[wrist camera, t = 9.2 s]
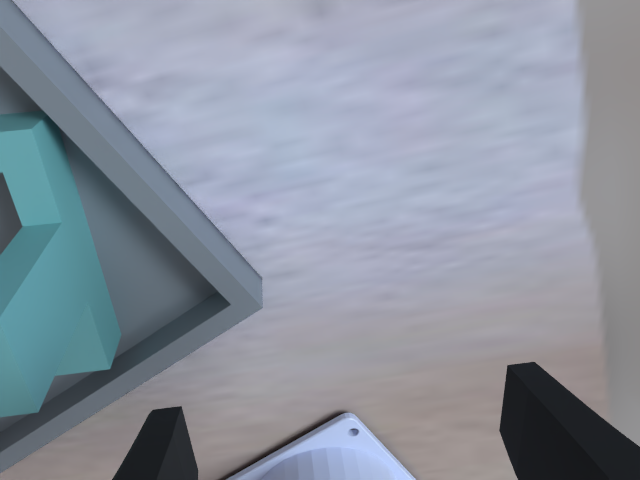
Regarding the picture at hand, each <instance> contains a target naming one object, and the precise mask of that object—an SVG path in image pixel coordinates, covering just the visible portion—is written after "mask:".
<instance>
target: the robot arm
mask: <svg viewBox="0 0 640 480" xmlns="http://www.w3.org/2000/svg"><path fill="white" fill-rule="evenodd" d="M353 428H356V429H354V430H350V429H353ZM500 433H501V436H502V439H503V442H504V445H505V447H506V450H507V453H508V456H509V458H510V461H511V463H512V466H513V469H514V471H515V474H516V476H517V478H518V480H640V447H639V446H638V445H636V444H635V443H634V442H632V441H631V440H630V439H629V438H627V437H626V436H625V435H623V434H622V433H621V432H619V431H618V430H617V429H615V428H614V427H613V426H612V425H610V424H609V423H608V422H607V421H605V420H604V419H603V418H601V417H600V416H599V415H598V414H596V413H595V412H594V411H593V410H591V409H590V408H589V407H588V406H587V405H585V404H584V403H583V402H582V401H581V400H579V399H578V398H577V397H576V396H575V395H573V394H572V393H571V392H570V391H569V390H567V389H566V388H565V387H564V386H563V385H561V384H560V383H559V382H558V381H557V380H555V379H554V378H553V377H552V376H551V375H549V374H548V373H547V372H546V371H545V370H543V369H542V368H541V367H540V366H539V365H537V364H536V363H535V362H529V363H522V364H514V365H508V366H507V374H506V382H505V390H504V398H503V406H502V414H501V423H500ZM112 480H198V468H197V464H196V461H195V457H194V453H193V449H192V445H191V441H190V437H189V434H188V430H187V426H186V422H185V418H184V414H183V410H182V407H181V406H180V407H172V408H164V409H156V410H152V412H151V413H150V414H149V415H148V417H147V419H146V421H145V423H144V425H143V427H142V428H141V430H140V432H139V434H138V436H137V438H136V440H135V441H134V443H133V445H132V447H131V449H130V450H129V452H128V454H127V456H126V457H125V459H124V461H123V463H122V464H121V466H120V468H119V469H118V471H117V473H116V474H115V476H114V478H113V479H112ZM226 480H416V479H415V478H414V477H413V476H412V475H411V474H410V473H409V472H408V471H407V470H406V468H405V467H404V466H403V465H402V464H401V463H400V462H399V461H398V460H397V459H396V458H395V457H394V456H393V455H392V454H391V453H390V452H389V450H388V449H387V448H386V447H385V446H384V445H383V444H382V443H381V442H380V441H379V440H378V439H377V438H376V437H375V436H374V435H373V434H372V432H371V431H370V430H369V429H368V428H367V427H366V426H365V425H364V424H363V423H362V422H361V421H360V420H359V419H358V418H357V417H356V416H355V415H354V414H352V413H344V414H341V415H339V416H337V417H336V418H334V419H332V420H330V421H329V422H327V423H325V424H323V425H321V426H320V427H318V428H316V429H314V430H313V431H311V432H309V433H307V434H306V435H304V436H302V437H300V438H298V439H297V440H295V441H293V442H291V443H290V444H288V445H286V446H284V447H283V448H281V449H279V450H277V451H275V452H274V453H272V454H270V455H268V456H267V457H265V458H263V459H261V460H260V461H258V462H256V463H254V464H252V465H251V466H249V467H247V468H245V469H244V470H242V471H240V472H238V473H237V474H235V475H233V476H231V477H229V478H228V479H226Z"/></svg>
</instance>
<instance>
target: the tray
mask: <svg viewBox="0 0 640 480" xmlns="http://www.w3.org/2000/svg"><path fill="white" fill-rule="evenodd" d="M42 110H43V111H44V112H45V113H46V114H47V115H48V116H49V117H50V118H51V119H52V120H53V121H54V122H55V123H56V124H57V125H58V126H59V130H60V133H61V136H62V140H63V143H64V146H65V150H66V153H67V156H68V160H69V163H70V166H71V169H72V173H73V176H74V179H75V183H76V186H77V189H78V193H79V196H80V199H81V203H82V206H83V209H84V213H85V216H86V219H87V222H88V226H89V229H90V232H91V236H92V239H93V242H94V246H95V249H96V252H97V256H98V259H99V262H100V266H101V269H102V272H103V275H104V279H105V282H106V285H107V289H108V292H109V295H110V299H111V302H112V305H113V309H114V312H115V315H116V319H117V322H118V325H119V328H120V332H121V337H120V340H119V344H118V347H117V350H116V353H115V356H114V359H113V362H112V365H111V368H110V369H108V370H100V371H91V372H83V373H75V374H66V375H58V376H54V379H53V381H52V383H51V385H50V388H49V390H48V392H47V394H46V397H45V399H44V401H43V403H42V405H41V408H40V410H39V412H38V413H31V414H23V415H14V416H6V417H0V473H1V472H3V471H4V470H6V469H8V468H9V467H11V466H12V465H14V464H15V463H17V462H19V461H20V460H22V459H23V458H25V457H27V456H28V455H30V454H31V453H33V452H35V451H36V450H38V449H39V448H41V447H42V446H44V445H46V444H47V443H49V442H50V441H52V440H54V439H55V438H57V437H58V436H60V435H62V434H63V433H65V432H66V431H68V430H69V429H71V428H73V427H74V426H76V425H77V424H79V423H81V422H82V421H84V420H85V419H87V418H88V417H90V416H92V415H93V414H95V413H96V412H98V411H100V410H101V409H103V408H104V407H106V406H108V405H109V404H111V403H112V402H114V401H115V400H117V399H119V398H120V397H122V396H123V395H125V394H127V393H128V392H130V391H131V390H133V389H135V388H136V387H138V386H139V385H141V384H142V383H144V382H146V381H147V380H149V379H150V378H152V377H154V376H155V375H157V374H158V373H160V372H162V371H163V370H165V369H166V368H168V367H169V366H171V365H173V364H174V363H176V362H177V361H179V360H181V359H182V358H184V357H185V356H187V355H189V354H190V353H192V352H193V351H195V350H196V349H198V348H200V347H201V346H203V345H204V344H206V343H208V342H209V341H211V340H212V339H214V338H215V337H217V336H219V335H220V334H222V333H223V332H225V331H227V330H228V329H230V328H231V327H233V326H235V325H236V324H238V323H239V322H241V321H242V320H244V319H246V318H247V317H249V316H250V315H252V314H254V313H255V312H257V311H258V310H260V309H262V308H263V303H262V278H261V277H260V275H259V274H258V273H257V272H256V271H255V270H254V269H253V268H252V267H251V265H250V264H249V263H248V262H247V261H246V260H245V259H244V258H243V257H242V255H241V254H240V253H239V252H238V251H237V250H236V249H235V248H234V247H233V245H232V244H231V243H230V242H229V241H228V240H227V239H226V238H225V237H224V235H223V234H222V233H221V232H220V231H219V230H218V229H217V228H216V227H215V225H214V224H213V223H212V222H211V221H210V220H209V219H208V218H207V217H206V215H205V214H204V213H203V212H202V211H201V210H200V209H199V208H198V207H197V205H196V204H195V203H194V202H193V201H192V200H191V199H190V198H189V197H188V195H187V194H186V193H185V192H184V191H183V190H182V189H181V188H180V187H179V185H178V184H177V183H176V182H175V181H174V180H173V179H172V178H171V177H170V175H169V174H168V173H167V172H166V171H165V170H164V169H163V168H162V167H161V165H160V164H159V163H158V162H157V161H156V160H155V159H154V158H153V157H152V155H151V154H150V153H149V152H148V151H147V150H146V149H145V148H144V147H143V145H142V144H141V143H140V142H139V141H138V140H137V139H136V138H135V137H134V135H133V134H132V133H131V132H130V131H129V130H128V129H127V128H126V127H125V125H124V124H123V123H122V122H121V121H120V120H119V119H118V118H117V117H116V115H115V114H114V113H113V112H112V111H111V110H110V109H109V108H108V107H107V105H106V104H105V103H104V102H103V101H102V100H101V99H100V98H99V97H98V96H97V94H96V93H95V92H94V91H93V90H92V89H91V88H90V87H89V86H88V84H87V83H86V82H85V81H84V80H83V79H82V78H81V77H80V76H79V74H78V73H77V72H76V71H75V70H74V69H73V68H72V67H71V66H70V64H69V63H68V62H67V61H66V60H65V59H64V58H63V57H62V56H61V54H60V53H59V52H58V51H57V50H56V49H55V48H54V47H53V46H52V44H51V43H50V42H49V41H48V40H47V39H46V38H45V37H44V36H43V34H42V33H41V32H40V31H39V30H38V29H37V28H36V27H35V26H34V24H33V23H32V22H31V21H30V20H29V19H28V18H27V17H26V16H25V14H24V13H23V12H22V11H21V10H20V9H19V8H18V7H17V6H16V4H15V3H14V2H13V1H12V0H0V114H10V113H21V112H31V111H42ZM22 227H23V226H22V224H21V221H20V218H19V216H18V213H17V210H16V207H15V205H14V202H13V199H12V196H11V194H10V191H9V188H8V186H7V183H6V180H5V177H4V175H3V172H2V173H0V255H1V254H2V252H3V251H4V250H5V248H6V247H7V246H8V245H9V243H10V242H11V241H12V239H13V238H14V237H15V236H16V234H17V233H18V232H19V230H20V229H21V228H22Z"/></svg>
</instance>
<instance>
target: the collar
mask: <svg viewBox="0 0 640 480" xmlns="http://www.w3.org/2000/svg"><path fill="white" fill-rule="evenodd" d="M2 172H3V175H4V177H5V180H6V183H7V186H8V188H9V191H10V194H11V196H12V199H13V202H14V205H15V207H16V210H17V213H18V216H19V218H20V221H21V224H22V226H23V227H22V228H21V229H20V230H19V232H18V233H17V234H16V236H15V237H14V238H13V239H12V241H11V242H10V243H9V245H8V246H7V247H6V248H5V250H4V251H3V252H2V254H1V255H0V417H6V416H14V415H23V414H31V413H38V412H39V410H40V408H41V405H42V403H43V401H44V399H45V397H46V394H47V392H48V390H49V388H50V385H51V383H52V381H53V379H54V376H58V375H66V374H75V373H83V372H91V371H100V370H108V369H110V368H111V365H112V362H113V359H114V356H115V353H116V350H117V347H118V344H119V340H120V337H121V332H120V328H119V325H118V322H117V319H116V315H115V312H114V309H113V305H112V302H111V299H110V295H109V292H108V289H107V285H106V282H105V279H104V275H103V272H102V269H101V266H100V262H99V259H98V256H97V252H96V249H95V246H94V242H93V239H92V236H91V232H90V229H89V226H88V222H87V219H86V216H85V213H84V209H83V206H82V203H81V199H80V196H79V193H78V189H77V186H76V183H75V179H74V176H73V173H72V169H71V166H70V163H69V160H68V156H67V153H66V150H65V146H64V143H63V140H62V136H61V133H60V130H59V126H58V125H57V124H56V123H55V122H54V121H53V120H52V119H51V118H50V117H49V116H48V115H47V114H46V113H45V112H44V111H43V110H42V111H31V112H21V113H10V114H0V173H2Z"/></svg>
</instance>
